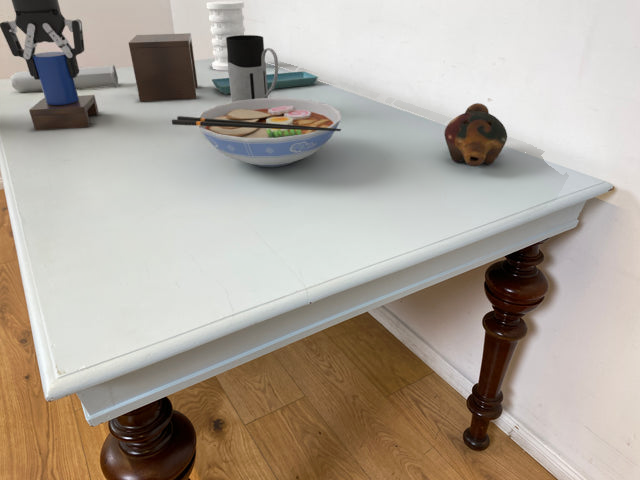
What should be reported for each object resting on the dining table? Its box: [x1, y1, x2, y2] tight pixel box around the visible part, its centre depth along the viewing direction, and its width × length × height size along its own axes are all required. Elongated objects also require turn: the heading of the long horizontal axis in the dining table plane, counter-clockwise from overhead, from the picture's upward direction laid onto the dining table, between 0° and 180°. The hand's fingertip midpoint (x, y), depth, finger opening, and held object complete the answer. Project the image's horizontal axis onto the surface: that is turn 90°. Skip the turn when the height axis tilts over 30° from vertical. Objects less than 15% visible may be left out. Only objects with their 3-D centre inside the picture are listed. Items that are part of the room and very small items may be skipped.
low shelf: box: [29, 94, 100, 131], centre depth 98 cm, size 10×10×4 cm
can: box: [33, 51, 79, 105], centre depth 95 cm, size 6×6×9 cm
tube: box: [10, 64, 119, 93], centre depth 124 cm, size 5×5×25 cm
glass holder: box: [226, 34, 279, 102], centre depth 99 cm, size 9×14×15 cm, turn 44°
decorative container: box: [205, 0, 246, 72], centre depth 144 cm, size 12×12×18 cm
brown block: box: [128, 32, 199, 103], centre depth 116 cm, size 13×13×13 cm
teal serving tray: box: [211, 70, 319, 95], centre depth 124 cm, size 26×9×2 cm, turn 116°
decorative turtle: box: [444, 102, 508, 167], centre depth 77 cm, size 10×15×8 cm, turn 170°
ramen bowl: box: [171, 97, 342, 168], centre depth 77 cm, size 25×23×8 cm
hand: (56, 77), depth 95 cm, fingers closed on can, 6 cm apart
